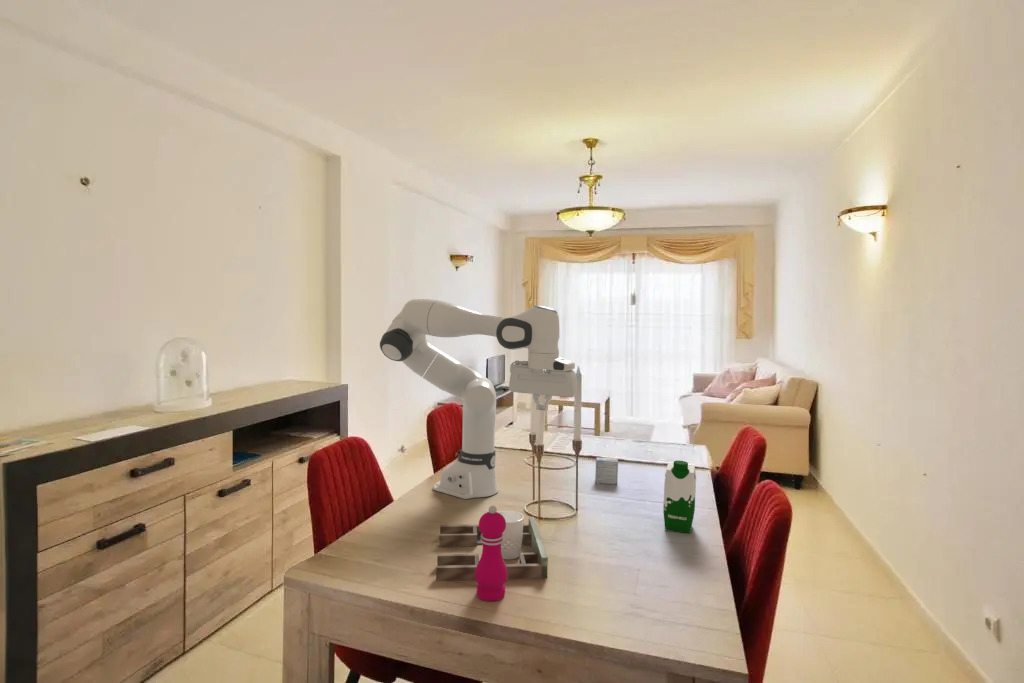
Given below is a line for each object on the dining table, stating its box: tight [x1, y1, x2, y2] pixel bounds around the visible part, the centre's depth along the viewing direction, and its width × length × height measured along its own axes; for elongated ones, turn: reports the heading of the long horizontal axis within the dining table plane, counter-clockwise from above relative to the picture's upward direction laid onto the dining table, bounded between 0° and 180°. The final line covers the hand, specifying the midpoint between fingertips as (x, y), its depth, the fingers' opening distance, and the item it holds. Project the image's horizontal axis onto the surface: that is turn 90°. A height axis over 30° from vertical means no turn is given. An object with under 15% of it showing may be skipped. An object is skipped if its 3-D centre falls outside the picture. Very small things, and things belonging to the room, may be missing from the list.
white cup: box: [497, 510, 525, 560], centre depth 143 cm, size 8×8×10 cm
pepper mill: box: [474, 505, 508, 602], centre depth 122 cm, size 7×7×20 cm
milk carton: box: [662, 460, 697, 535], centre depth 163 cm, size 9×9×20 cm
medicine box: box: [594, 457, 619, 485], centre depth 204 cm, size 8×4×9 cm, turn 84°
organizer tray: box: [435, 516, 549, 581], centre depth 142 cm, size 26×25×5 cm
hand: (542, 410), depth 160 cm, fingers closed
